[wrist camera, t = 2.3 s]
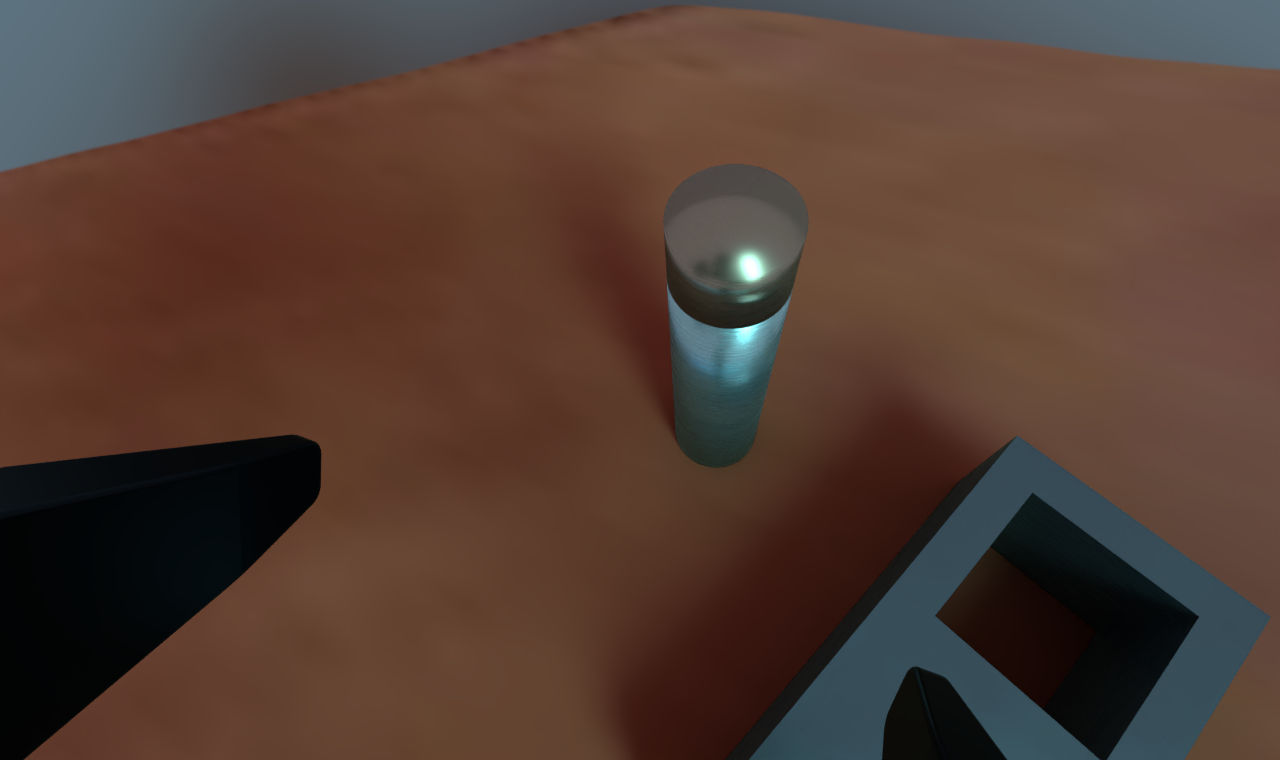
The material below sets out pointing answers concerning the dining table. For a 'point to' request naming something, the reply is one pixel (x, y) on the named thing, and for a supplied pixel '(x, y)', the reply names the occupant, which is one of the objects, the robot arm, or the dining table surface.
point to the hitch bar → (1072, 573)
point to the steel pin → (728, 301)
